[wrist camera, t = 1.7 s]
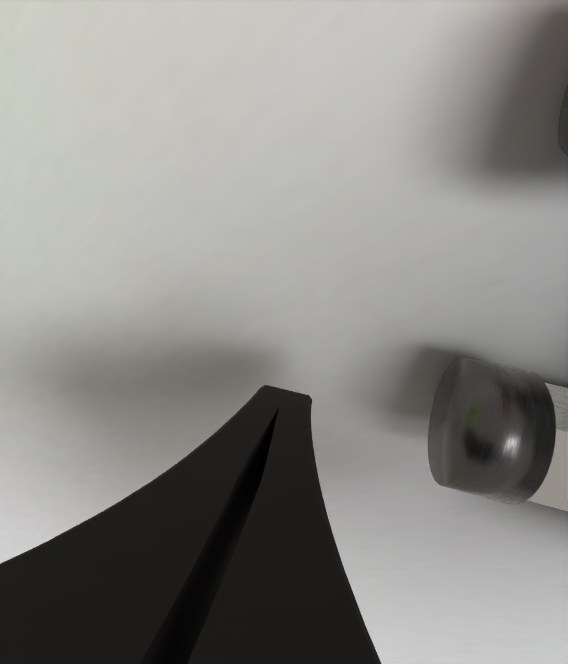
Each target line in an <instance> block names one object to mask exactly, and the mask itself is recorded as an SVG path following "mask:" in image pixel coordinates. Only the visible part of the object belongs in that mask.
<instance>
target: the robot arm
mask: <svg viewBox="0 0 568 664" xmlns="http://www.w3.org/2000/svg"><path fill="white" fill-rule="evenodd" d="M311 404H312V399H311V398H310V396H309V395H305V394H301V393H297V392H292V391H288V390H284V389H280V388H276V387H272V386H268V385H264V386H262V387H261V388H260V389H259V390H258V391H257V392H256V394H255V395H254V396H253V397H252V398H251V399H250V400H249V401H248V402H247V403H246V404H245V405H244V406H243V407H242V408H241V409H240V410H239V411H238V412H237V413H236V414H235V415H234V416H233V417H232V418H231V419H230V420H229V421H228V422H226V423H225V424H224V425H223V426H222V427H221V428H220V429H219V430H218V431H217V432H215V433H214V434H213V435H212V436H211V437H210V438H208V439H207V440H206V441H205V442H203V443H202V444H201V445H200V446H199V447H197V448H196V449H195V450H194V451H192V452H191V453H190V454H189V455H187V456H186V457H185V458H183V459H182V460H181V461H179V462H178V463H177V464H175V465H174V466H173V467H171V468H170V469H169V470H167V471H166V472H164V473H163V474H161V475H160V476H158V477H157V478H156V479H154V480H153V481H151V482H150V483H148V484H147V485H145V486H143V487H142V488H140V489H139V490H137V491H135V492H134V493H132V494H131V495H129V496H128V497H126V498H124V499H123V500H121V501H120V502H118V503H116V504H115V505H113V506H111V507H110V508H108V509H106V510H104V511H103V512H101V513H99V514H97V515H96V516H94V517H92V518H90V519H88V520H86V521H84V522H82V523H81V524H79V525H77V526H75V527H73V528H71V529H69V530H68V531H66V532H64V533H62V534H60V535H58V536H56V537H55V538H53V539H51V540H49V541H47V542H45V543H43V544H41V545H39V546H37V547H35V548H33V549H31V550H29V551H27V552H25V553H22V554H20V555H18V556H16V557H14V558H12V559H10V560H7V561H5V562H3V563H1V564H0V664H381V662H380V659H379V657H378V655H377V652H376V650H375V647H374V645H373V643H372V640H371V638H370V636H369V633H368V631H367V628H366V626H365V623H364V621H363V618H362V615H361V613H360V610H359V608H358V605H357V602H356V600H355V597H354V594H353V592H352V589H351V586H350V584H349V581H348V578H347V576H346V573H345V570H344V567H343V564H342V561H341V558H340V555H339V552H338V549H337V546H336V543H335V540H334V537H333V533H332V530H331V526H330V523H329V519H328V516H327V512H326V508H325V504H324V500H323V496H322V492H321V487H320V483H319V478H318V473H317V468H316V462H315V456H314V449H313V442H312V432H311Z"/></svg>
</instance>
